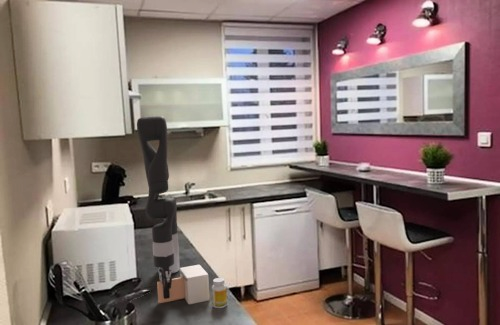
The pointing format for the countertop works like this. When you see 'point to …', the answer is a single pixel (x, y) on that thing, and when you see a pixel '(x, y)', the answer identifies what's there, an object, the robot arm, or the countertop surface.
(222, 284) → the supplement bottle
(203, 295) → the white rectangular block
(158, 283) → the ticket
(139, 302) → the countertop surface
